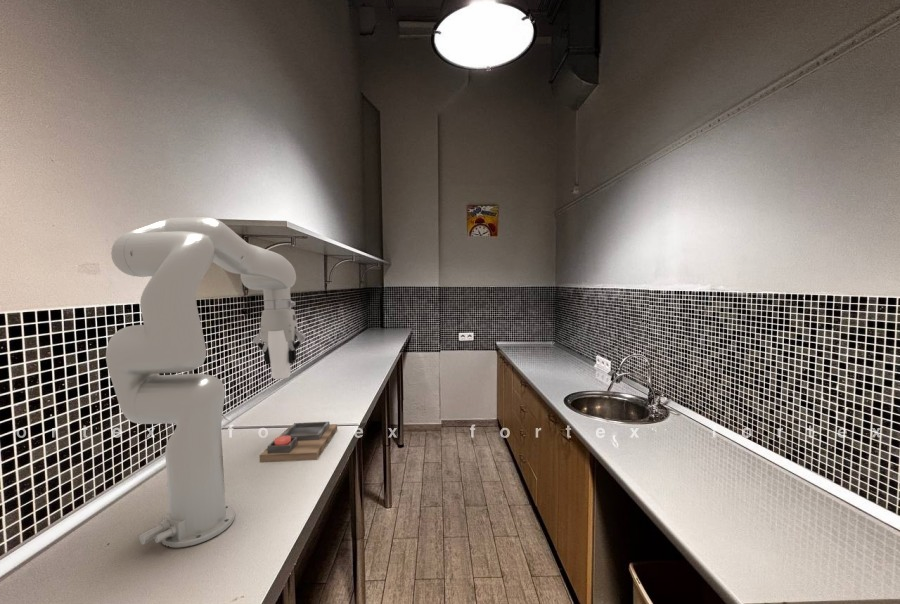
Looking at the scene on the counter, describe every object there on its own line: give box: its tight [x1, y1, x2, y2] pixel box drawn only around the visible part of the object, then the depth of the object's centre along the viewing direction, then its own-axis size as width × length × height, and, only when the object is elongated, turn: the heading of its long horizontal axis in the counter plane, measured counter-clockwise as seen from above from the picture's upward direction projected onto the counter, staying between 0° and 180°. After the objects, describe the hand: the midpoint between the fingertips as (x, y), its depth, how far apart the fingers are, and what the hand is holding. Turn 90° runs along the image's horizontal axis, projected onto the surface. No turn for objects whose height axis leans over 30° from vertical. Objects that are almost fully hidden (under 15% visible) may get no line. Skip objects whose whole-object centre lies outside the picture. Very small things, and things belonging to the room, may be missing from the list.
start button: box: [273, 435, 291, 446], centre depth 110 cm, size 4×4×2 cm
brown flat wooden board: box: [258, 421, 338, 463], centre depth 117 cm, size 22×16×4 cm
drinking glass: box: [268, 330, 291, 380], centre depth 117 cm, size 7×7×15 cm
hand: (280, 362), depth 117 cm, fingers closed on drinking glass, 6 cm apart
